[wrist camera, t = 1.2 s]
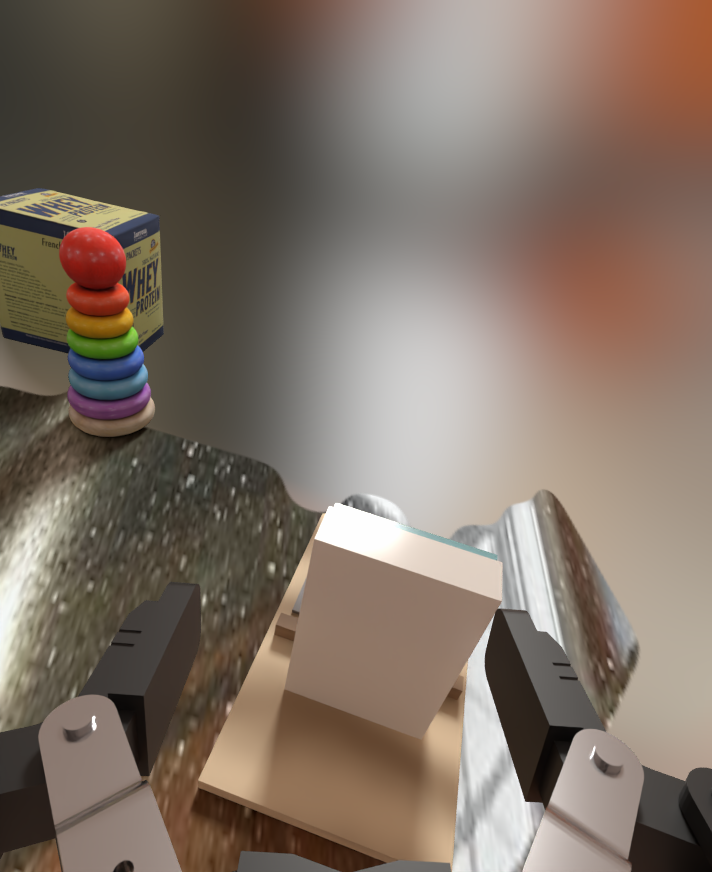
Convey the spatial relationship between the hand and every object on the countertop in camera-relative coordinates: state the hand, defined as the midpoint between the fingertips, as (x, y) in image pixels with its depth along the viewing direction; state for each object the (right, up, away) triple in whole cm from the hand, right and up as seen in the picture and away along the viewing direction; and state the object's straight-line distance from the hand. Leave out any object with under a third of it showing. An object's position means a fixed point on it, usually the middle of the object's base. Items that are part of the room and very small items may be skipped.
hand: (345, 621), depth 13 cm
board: (+1, -11, +22) cm, 24 cm away
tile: (0, -12, +19) cm, 22 cm away
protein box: (-34, +18, +50) cm, 63 cm away
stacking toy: (-25, +7, +38) cm, 46 cm away
